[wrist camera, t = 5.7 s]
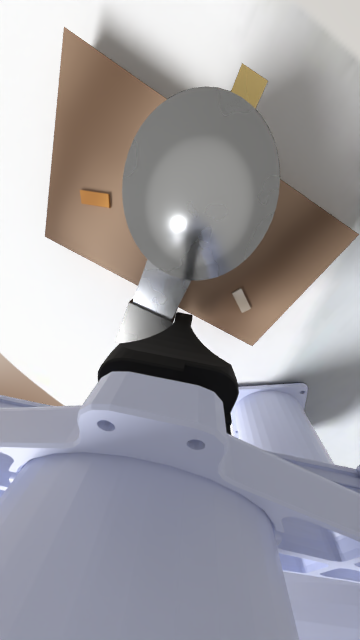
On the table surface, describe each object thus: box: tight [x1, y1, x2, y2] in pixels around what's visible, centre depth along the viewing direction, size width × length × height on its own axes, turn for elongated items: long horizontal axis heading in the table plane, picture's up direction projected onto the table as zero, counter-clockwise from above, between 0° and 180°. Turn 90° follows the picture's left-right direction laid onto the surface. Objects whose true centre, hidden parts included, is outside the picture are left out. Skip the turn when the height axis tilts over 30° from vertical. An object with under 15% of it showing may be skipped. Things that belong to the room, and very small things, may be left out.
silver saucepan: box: [116, 63, 280, 343], centre depth 9 cm, size 13×6×3 cm, turn 155°
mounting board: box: [45, 27, 359, 346], centre depth 11 cm, size 10×18×2 cm, turn 62°
